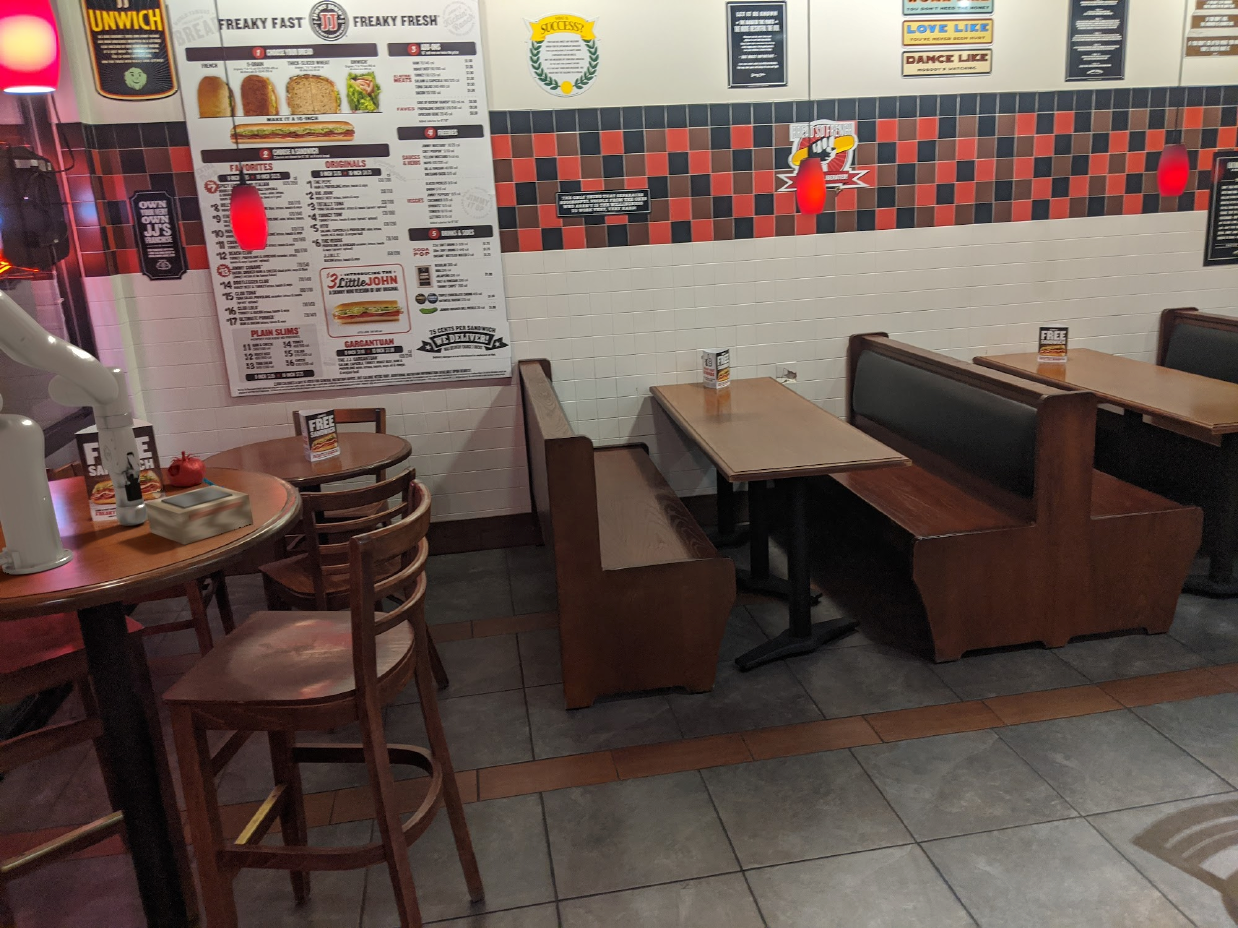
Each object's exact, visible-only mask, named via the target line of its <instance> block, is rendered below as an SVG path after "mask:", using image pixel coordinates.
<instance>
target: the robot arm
mask: <svg viewBox="0 0 1238 928" xmlns="http://www.w3.org/2000/svg"><path fill="white" fill-rule="evenodd" d="M0 350H1V351H2V352H3V353H5V354H6V355H7V356H8V357H9V358H11V360H13V361H15V362H17V363H20V364H22V365H25V366H27V367H31V368H34V369H36V370H37V369H38V370H42V371H46V372H50V373H53V374H56V375H55V376H54V377H52V378H51V380H50V381H49V384H48V386H47V387H48V388H47V389H48V395H49V397H50V399H52V400H53V402H55V403H57V404H58V405H61V406H65V407H74V408H75V407H76V408H77V407H92V411H93V416H94V421H95V422H94V423H95V426H96V431H97V432H98V433H97V434H98V445H99V452H100V459H101V465H102V468H103V469H104V470H106V471H108V469H107V466H106V464H107V461H108V460H109V462H110V461H111V464H112V466H113V472H115V473H122V472H123V476H124V479H125V482H126V485H125V491H126V496H127V501H129V502H131V501H135V500H139V499H142V498H143V499H144V496H143V492H142V488H141V479H140V476H141V475H140V474H141V472H142V471H141V459H140V454H139V448H138V444H137V442H136V441H137V440H136V438H135V433H134V430H133V427H135V423H134V417H133V412H132V406H131V402H130V397H129V396H130V395H129V391H128V385H127V379H126V376H125V375H126V374H125V371H124V370H123V368H121V367H119V366H105V365H104V364H103V363H102V362H101V361H100V360H98V359H97V358H96V357H95V356H93V355H92V354H91V353H89V352H87V351H85V350H84V349H82V348H80V347H79V346H77V345H74V344H72V343H71V342H68V341H67V340H65V339H63V338H61V337H59V336H56V335H54V334H52V333H51V332H49V331H47V330H46V329H45V328H44V327H43V326H42V325H40V324H39V323H38V322H37V321H36V320H35V319H34V318H33V317H31V315H30V314H29V313H28V312H27V311H25V309H23V308H22V307H21V306H20V305H19V304H17V302H15V300H13V299H12V298H11V297H10V296H9V295H8V294H7V293H6V292H4V291H3V290H2V289H0ZM3 404H4V398H3V396H2V394H1V393H0V412H2V409H3ZM45 461H46V460H45V434H44V431H43V429H42V427H41V425H40V424H38V423H37V421H35V420H34V419H32V418H30V417H28V416H25V415H21V414H13V413H0V524H1V529H2V533H3V538H4V541H5V547H2V548H1V549H2V552H0V567H1V569H2V572H3V573H5V572H6V573H5V574H7V573H9V574H8V575H27V574H34V573H39V572H44V571H48V570H51V569H54V568H57V567H60V566H63V565H64V564H67V563H69V562H70V561H72V559H73V558H74V552H73V550H71V549H69V548H64V547H63V542H62V539H61V538H62V537H61V534H60V529H59V525H58V524H59V523H58V519H57V516H56V511H55V507H54V502H53V497H52V493H51V488H50V484H49V480H48V474H47V470H46V462H45ZM128 466H130V467H131V469H132V470H127V471H126V467H128ZM128 473H132V474H130V476H129V477H128ZM142 496H143V497H142Z"/></svg>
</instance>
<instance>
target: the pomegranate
mask: <svg viewBox="0 0 1238 928" xmlns="http://www.w3.org/2000/svg"><path fill="white" fill-rule="evenodd" d="M199 457H201V456H200V455H194V453H189V454H187V455H186V451H185V450H182V451H181V457H178V456H173V457H171V459H172V460H171V461H170V463H171V464H169V466H168V467H167V468H166V470H165V476H166V478H167V480H168V482H169V483H170V484H171V485H172V486H175V487H177V488H178V487H179V488H182V487H183V488H185V487H193V486H196V485H200V484H202V483H203V482H204V481H202V480H203V479H204V478H206V471H207V468H206V465H205V463H204V462H203V461H202V459H200V458H199Z"/></svg>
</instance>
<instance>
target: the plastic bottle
mask: <svg viewBox="0 0 1238 928" xmlns="http://www.w3.org/2000/svg"><path fill="white" fill-rule="evenodd" d="M106 466H107V469H108V470H107V472H108V475H109V477H110V480H111V483H112V487H113V491H114V497H115V518H116V519H117V522H118V523H119V524H120V525H121V526H136V525H140V524H142V523H145V522H147V520H148V516H147V510H146V505H145V503H146V502H145V501H144V496H143V495H142V497H143V498H142V499H139V500H135V501H131V502H129V501H127V496H126V491H125V485H126V482H125V479H124V476H123V472H122V473H115V472H113V466H112V464H111V461H110V462H109V460H108V461H107V464H106ZM127 470H132V469H131V467H130V466H128V467H126V471H127ZM130 474H132V473H128V477H129V476H130Z"/></svg>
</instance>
